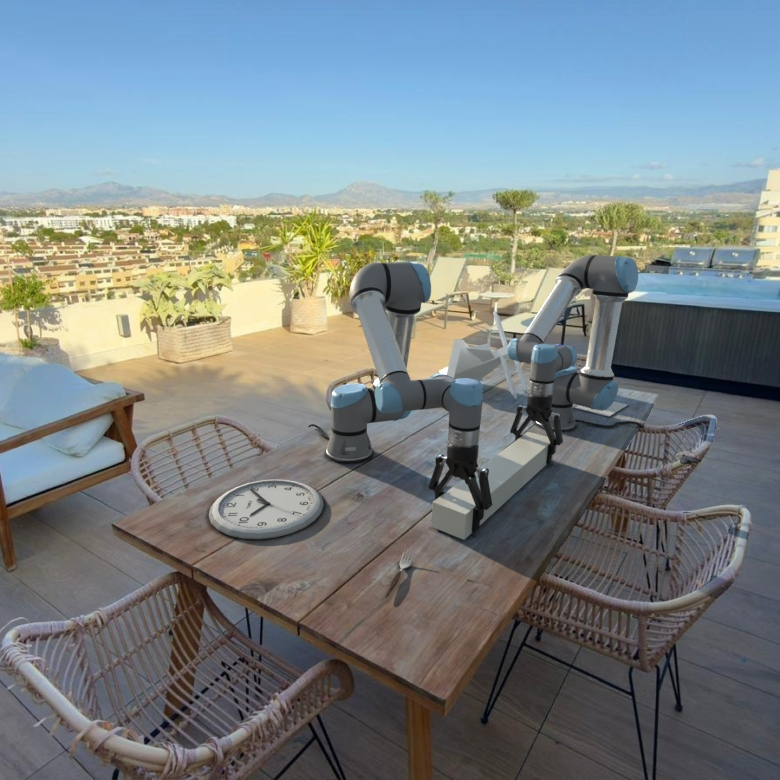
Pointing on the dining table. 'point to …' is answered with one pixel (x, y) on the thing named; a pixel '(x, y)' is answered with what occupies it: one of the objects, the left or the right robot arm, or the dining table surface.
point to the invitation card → (608, 412)
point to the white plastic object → (482, 361)
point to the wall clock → (266, 509)
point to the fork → (403, 565)
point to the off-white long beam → (491, 484)
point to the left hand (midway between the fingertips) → (457, 522)
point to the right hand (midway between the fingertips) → (533, 458)
